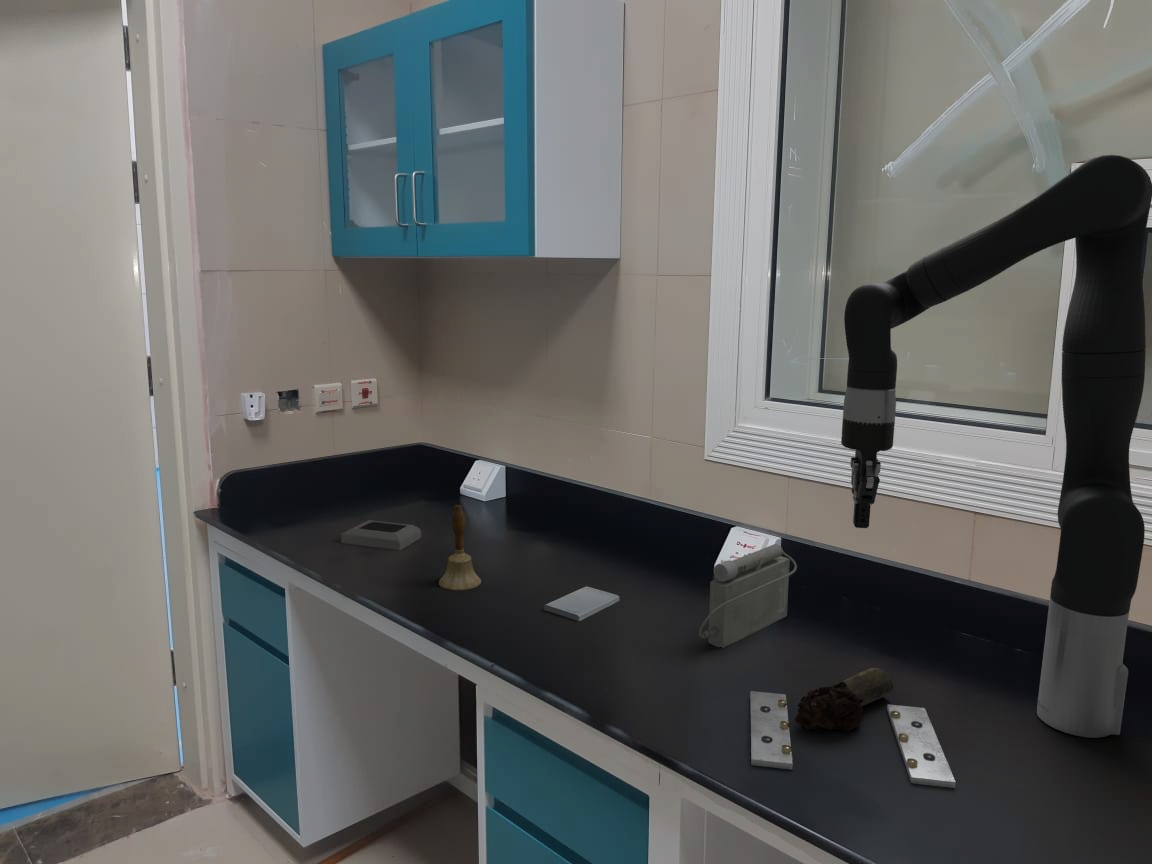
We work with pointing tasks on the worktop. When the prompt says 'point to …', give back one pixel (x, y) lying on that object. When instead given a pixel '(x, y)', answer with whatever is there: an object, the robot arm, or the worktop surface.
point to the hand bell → (459, 559)
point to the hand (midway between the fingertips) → (860, 526)
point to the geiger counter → (747, 595)
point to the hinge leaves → (907, 723)
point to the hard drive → (581, 603)
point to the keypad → (382, 535)
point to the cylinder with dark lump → (843, 701)
